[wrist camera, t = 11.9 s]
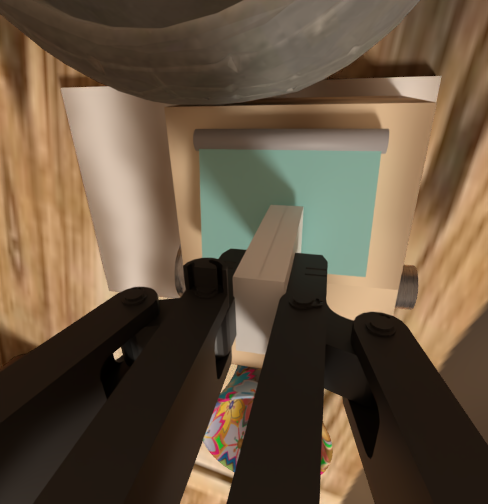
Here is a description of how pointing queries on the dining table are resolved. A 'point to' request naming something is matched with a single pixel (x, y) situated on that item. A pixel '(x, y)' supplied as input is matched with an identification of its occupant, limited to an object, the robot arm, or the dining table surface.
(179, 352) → the robot arm
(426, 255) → the dining table surface
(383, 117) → the block
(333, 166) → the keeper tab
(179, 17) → the bowl
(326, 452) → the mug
